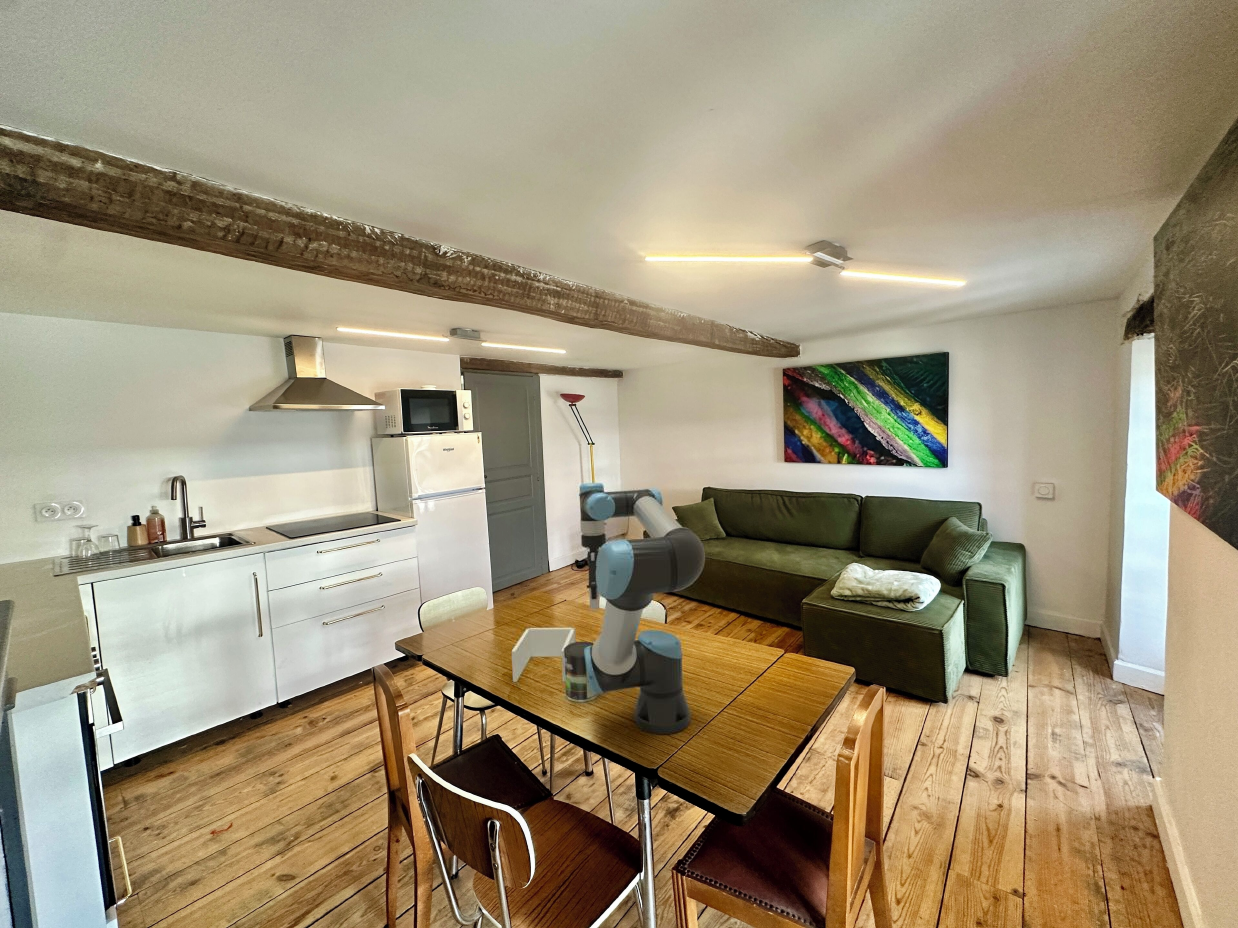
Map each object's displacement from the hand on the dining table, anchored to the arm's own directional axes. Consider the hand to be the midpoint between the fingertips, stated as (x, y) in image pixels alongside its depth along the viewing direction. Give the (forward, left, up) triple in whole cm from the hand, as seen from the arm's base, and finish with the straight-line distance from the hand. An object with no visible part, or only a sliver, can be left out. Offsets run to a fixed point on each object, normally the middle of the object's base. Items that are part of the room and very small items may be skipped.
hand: (596, 601), depth 150 cm
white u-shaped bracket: (+12, +20, -27) cm, 36 cm away
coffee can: (-4, +5, -27) cm, 28 cm away
